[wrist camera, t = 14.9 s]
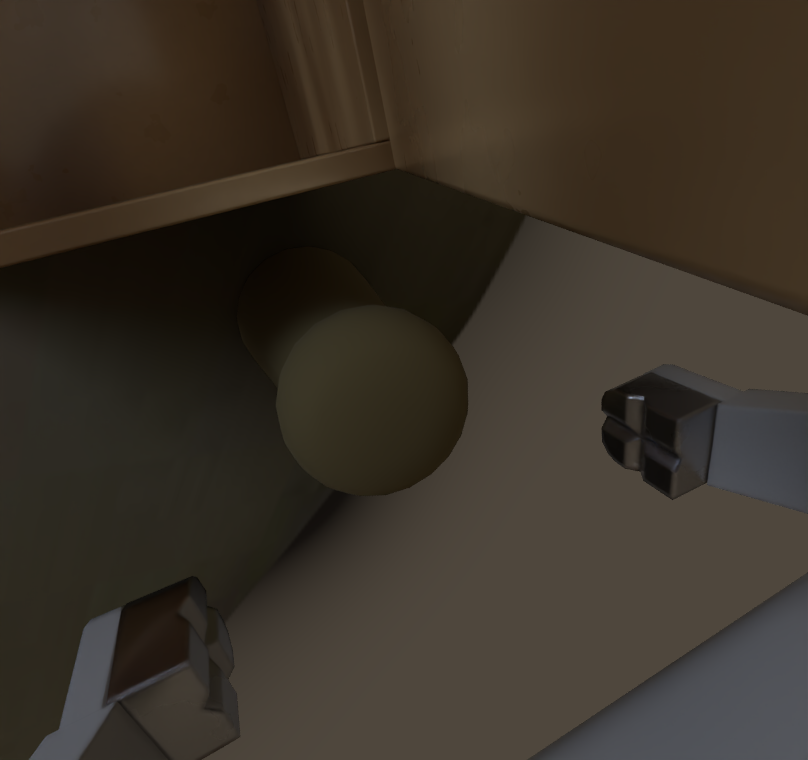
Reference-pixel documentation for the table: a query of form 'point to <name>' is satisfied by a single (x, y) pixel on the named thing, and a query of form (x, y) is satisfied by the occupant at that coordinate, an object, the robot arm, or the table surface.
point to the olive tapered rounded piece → (351, 374)
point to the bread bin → (176, 113)
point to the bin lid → (616, 122)
